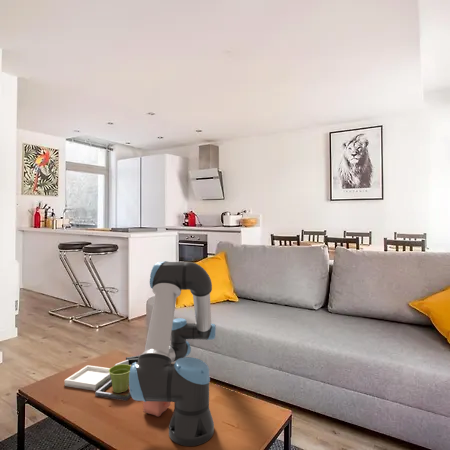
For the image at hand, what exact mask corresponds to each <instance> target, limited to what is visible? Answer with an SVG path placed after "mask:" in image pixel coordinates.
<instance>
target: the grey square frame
mask: <svg viewBox="0 0 450 450" xmlns="http://www.w3.org/2000/svg"><path fill="white" fill-rule="evenodd" d="M111 386H112V381H111V379H109V380H108V381H107V382H106V383H104V384H103V385H102V386H101V387H99V388H98V389H97V390H96V391H94V392H95V397H99V398H106V399H107V398H108V399H113V400H120V401H124V402H125V401H128V400H129V399H130V398H132V397H131V394H130V391H129V392H128V393H126V394H121V393H115V392H105V391H106V390H107V389H108V388H109V387H111Z"/></svg>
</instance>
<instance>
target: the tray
mask: <svg viewBox="0 0 450 450" xmlns="http://www.w3.org/2000/svg"><path fill="white" fill-rule="evenodd" d="M110 368H111V367H110ZM110 368H109V367H103V366H97V365H89V364H87V365H85V366H84V367H82V368H81V369H80V370H77V371H76V372H75V373H72V375H70V376H68V377H67V378H65V379H64V386H65V387H68V388H69V387H70V388H75V389H81V390H82V389H83V390H90V391H94V392H96V391H97V390H99V389H100V388H101V387H102V386H104V385H105V384H106V383H107V382H109V381H110V380H111V376H110V373H109V369H110Z"/></svg>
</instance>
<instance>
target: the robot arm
mask: <svg viewBox="0 0 450 450" xmlns="http://www.w3.org/2000/svg"><path fill="white" fill-rule="evenodd" d="M212 282H213V281H212V279H211V277H210V275H209V273H208V272H207V271H206V269H204V267H202V266H201V265H200V264H198V263H197V262H192V261H157V262H156V263H154V265H153V266H152V269H151V272H150V278H149V286H150V287H149V288H150V289H152V292H153V294H154V300H153V304H152V311H151V315H150V321H149V325H148V329H147V330H148V331H147V336H146V341H145V346H144V351H143V352H142V353H141V354H138V355H133V356H126V357H125V360H123V361H120V362H117V363H115V364H114V366H116V365H121V364H127V365H130V366H131V368H130V374H129V385H128V390H129V392H130V394H131V397H130V398H132V400H134V401H141V402H143V401H144V402H146V401H158V402H171V403H173V405H174V406H173V407H174V409H173V412H172V416H171V418H170V421H169V424H168V436H169V438H170V440H171V441H172V442H174V443H175V444H177V445H180V446H184V447H195V446H200V445H202V444H205V443H207V442H208V441H210V439H211V438H212V437H213V435H214V433H215V422H214V419H213V415H212V413H211V409H210V381H211V377H210V368H209V366H208V364H207V363H206V362H205V361H203V360H201V359H199V358H196V357H192V356H191V357H190V356H189V355H190V354H191V351H192V347H191V343H189V341H187V340H199V341H200V340H203V341H204V340H205V341H208V340H215V339H216V334H217V333H216V331H217V327H216V324H215V323H212V309H211V293H212V291H213V284H212ZM185 290H186V291H187V290H188V291H190V293H191V295H192V298H193V309H194V320H195V323H188V322H187V321H188V320H187V319H185V318H183V317H182V318H181V317H180V318H178V317H177V318H174V317H175V309H176V302H177V298H178V297H179V296H180V295H181V293H182V291H185Z"/></svg>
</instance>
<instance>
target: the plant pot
mask: <svg viewBox="0 0 450 450" xmlns="http://www.w3.org/2000/svg"><path fill="white" fill-rule="evenodd" d="M130 368H131V365H127V364H121V365H116V366H115V365H114V366H112V367H110V369H109V373H110V376H111V379H110V380H111V381H112V385H111V386H112V387H111V388H112V391H113V393H114V394H121V393H122V392H123V393H125V392H127V391H128V390H129V374H130Z"/></svg>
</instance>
